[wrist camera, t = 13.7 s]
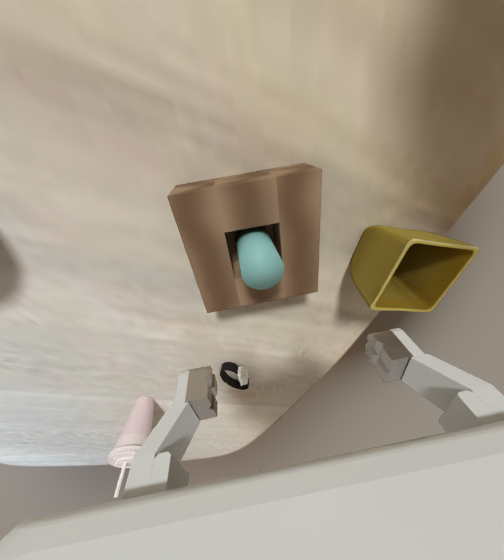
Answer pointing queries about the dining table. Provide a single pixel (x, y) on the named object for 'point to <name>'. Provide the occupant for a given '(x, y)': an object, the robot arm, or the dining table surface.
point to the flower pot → (407, 267)
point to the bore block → (246, 214)
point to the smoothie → (132, 436)
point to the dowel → (258, 258)
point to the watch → (241, 373)
